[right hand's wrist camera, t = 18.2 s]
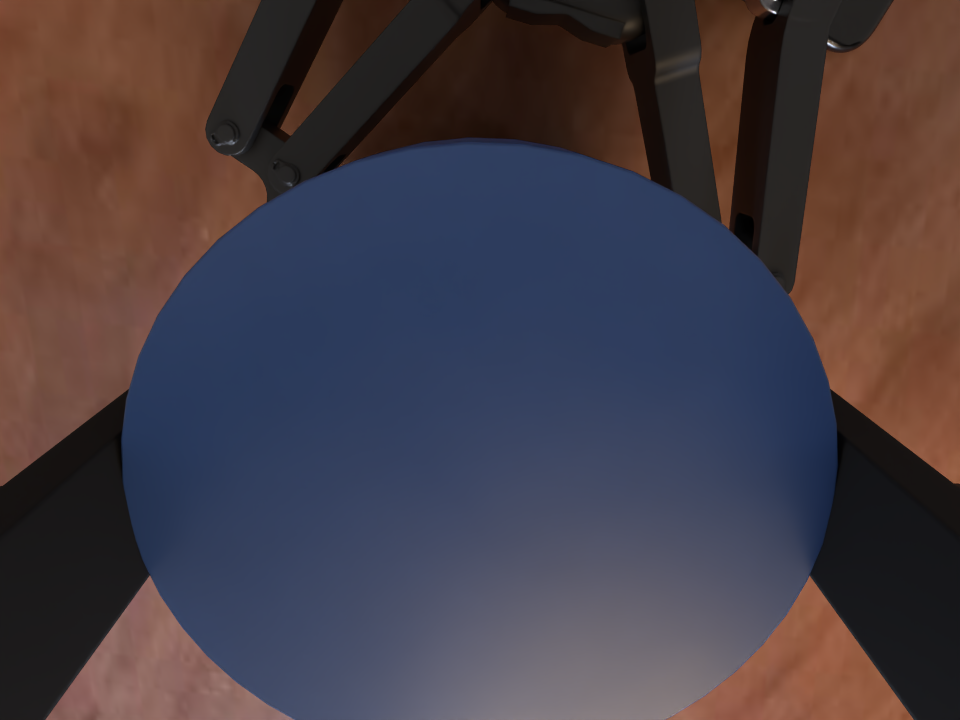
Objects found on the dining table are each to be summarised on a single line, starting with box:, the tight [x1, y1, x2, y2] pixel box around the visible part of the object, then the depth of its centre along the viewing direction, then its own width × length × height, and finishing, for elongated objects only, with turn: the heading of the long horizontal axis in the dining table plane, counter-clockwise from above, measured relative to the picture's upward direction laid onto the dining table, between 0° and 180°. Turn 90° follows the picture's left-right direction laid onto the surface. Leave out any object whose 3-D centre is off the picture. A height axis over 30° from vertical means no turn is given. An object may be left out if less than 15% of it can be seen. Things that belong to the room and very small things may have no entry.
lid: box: [121, 138, 838, 720], centre depth 11 cm, size 11×11×2 cm
